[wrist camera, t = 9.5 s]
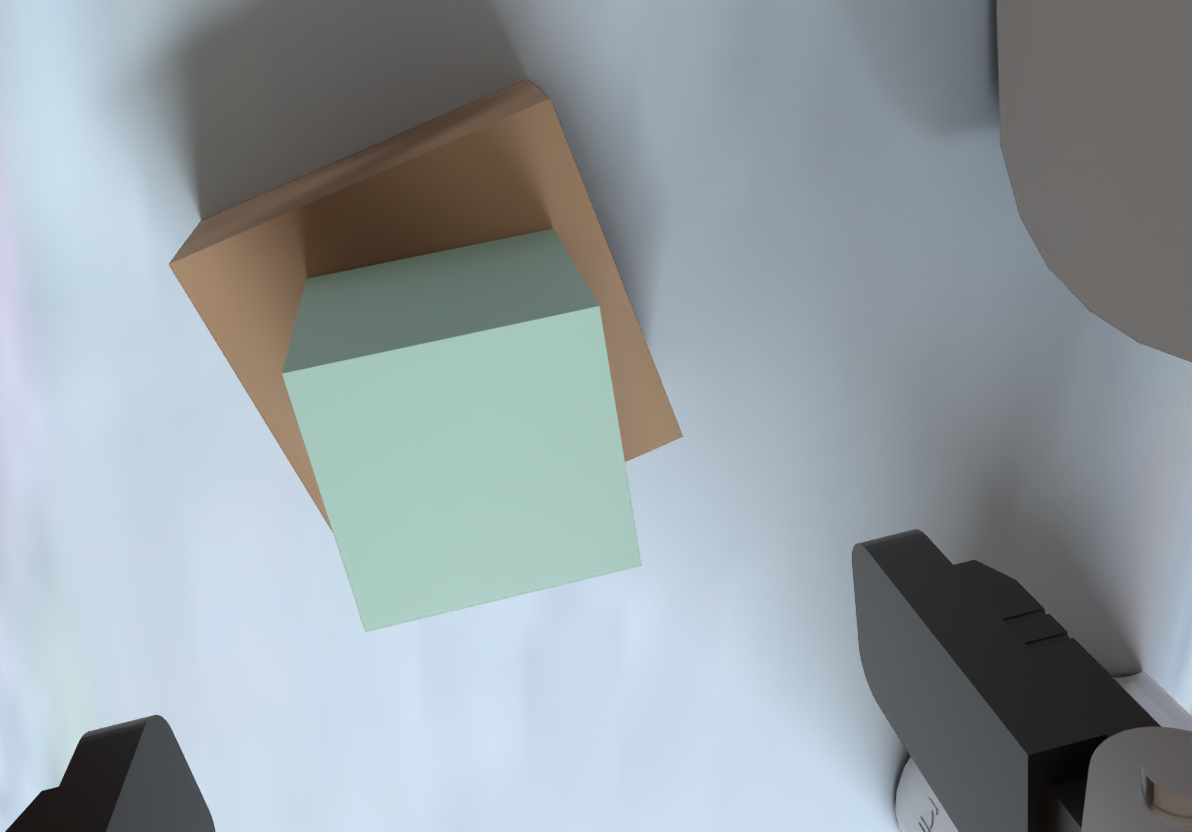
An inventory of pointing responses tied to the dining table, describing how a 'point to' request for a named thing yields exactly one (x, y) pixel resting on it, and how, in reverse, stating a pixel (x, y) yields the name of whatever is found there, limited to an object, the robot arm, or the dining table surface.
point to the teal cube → (462, 427)
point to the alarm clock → (1105, 153)
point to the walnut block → (412, 248)
